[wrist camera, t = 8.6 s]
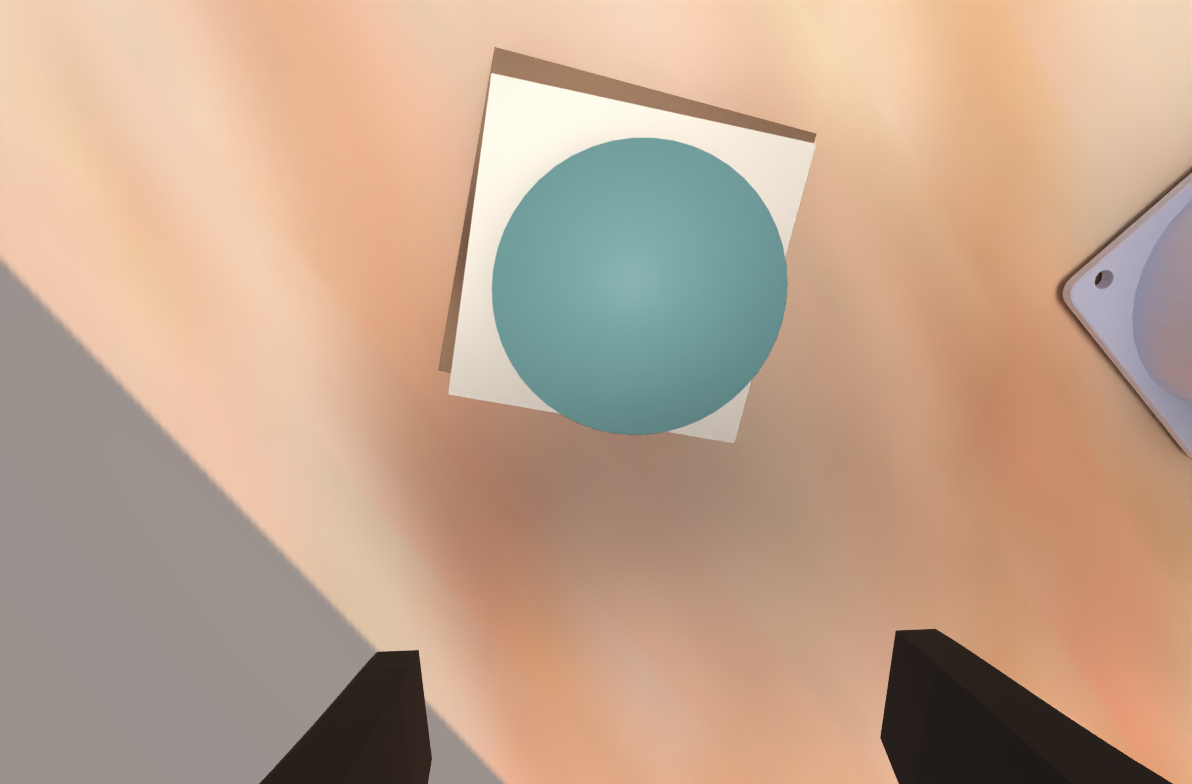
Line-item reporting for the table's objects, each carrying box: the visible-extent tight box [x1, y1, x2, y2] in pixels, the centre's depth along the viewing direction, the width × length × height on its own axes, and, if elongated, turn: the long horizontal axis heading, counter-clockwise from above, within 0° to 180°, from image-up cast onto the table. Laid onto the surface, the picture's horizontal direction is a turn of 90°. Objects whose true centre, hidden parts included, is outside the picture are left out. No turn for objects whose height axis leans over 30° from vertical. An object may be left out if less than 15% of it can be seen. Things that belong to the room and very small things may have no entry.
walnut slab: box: [439, 47, 816, 373], centre depth 18 cm, size 8×8×2 cm
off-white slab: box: [448, 73, 816, 443], centre depth 16 cm, size 7×7×2 cm
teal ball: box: [492, 138, 787, 435], centre depth 12 cm, size 5×5×5 cm
